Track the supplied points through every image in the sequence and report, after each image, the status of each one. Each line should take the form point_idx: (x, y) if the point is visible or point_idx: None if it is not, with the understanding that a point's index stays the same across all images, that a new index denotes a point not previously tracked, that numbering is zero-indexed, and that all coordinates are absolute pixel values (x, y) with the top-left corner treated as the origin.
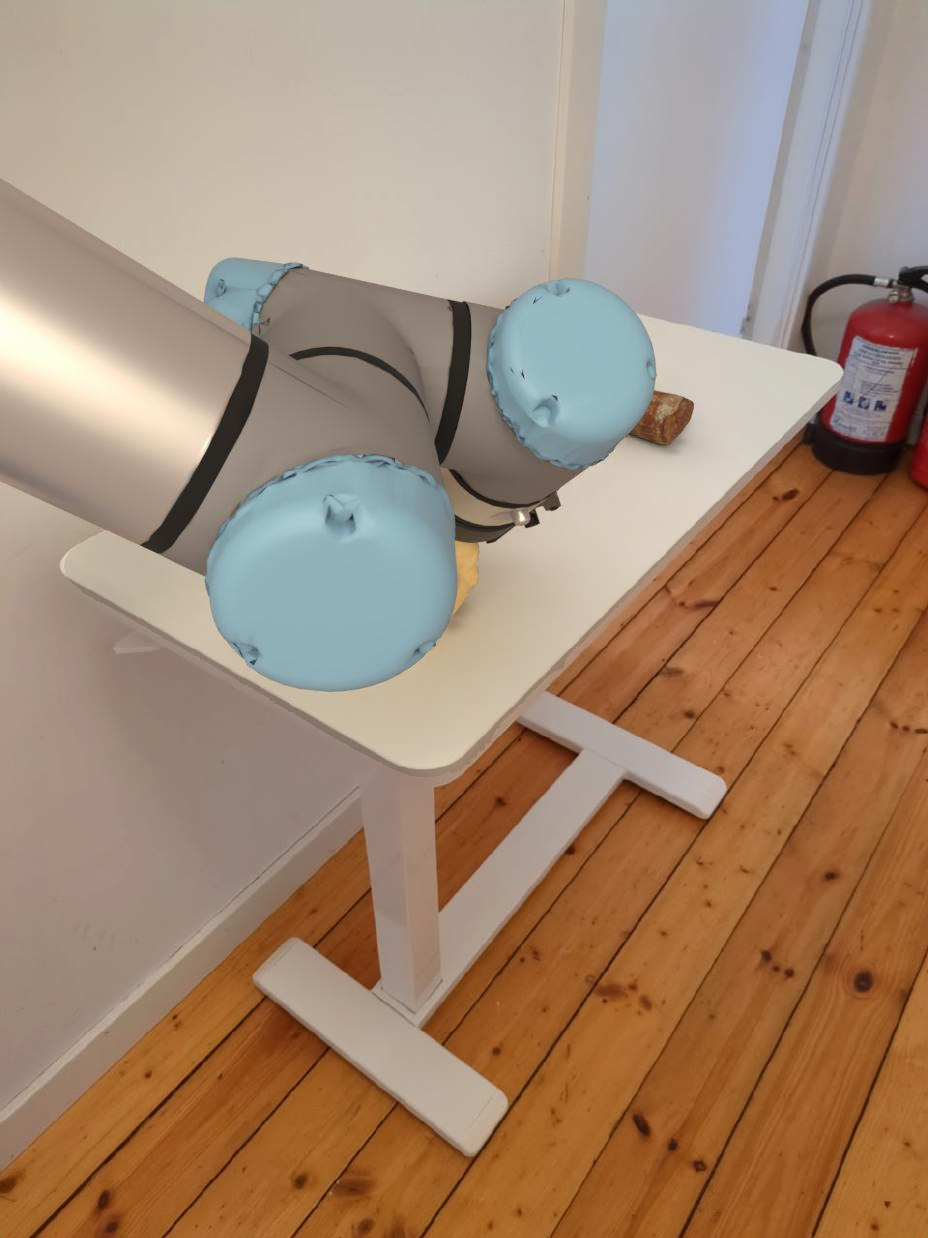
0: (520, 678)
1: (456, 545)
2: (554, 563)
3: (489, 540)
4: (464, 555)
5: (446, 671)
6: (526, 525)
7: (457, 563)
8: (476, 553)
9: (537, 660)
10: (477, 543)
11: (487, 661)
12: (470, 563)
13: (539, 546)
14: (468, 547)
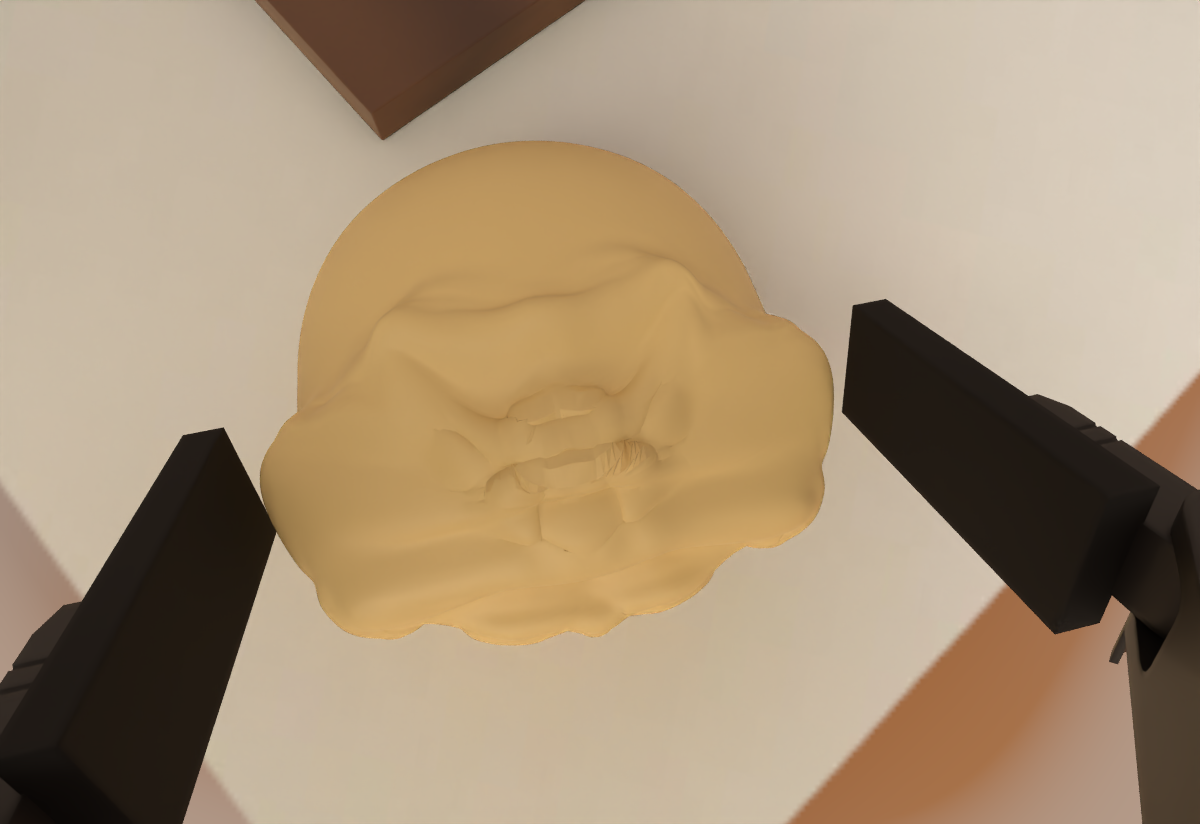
0: (795, 774)
1: (745, 523)
2: (958, 320)
3: (861, 428)
4: (761, 539)
5: (608, 700)
6: (1122, 651)
7: (725, 554)
8: (807, 524)
9: (851, 709)
10: (824, 487)
11: (721, 683)
12: (771, 544)
13: (931, 242)
14: (787, 522)
